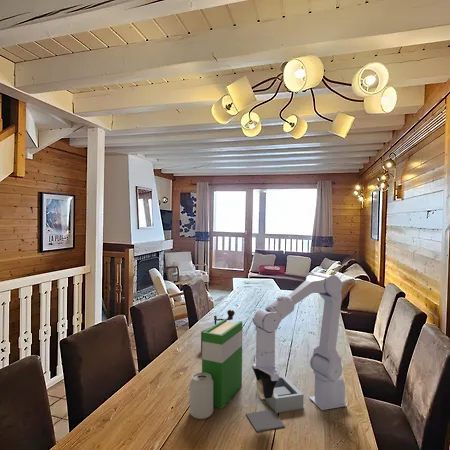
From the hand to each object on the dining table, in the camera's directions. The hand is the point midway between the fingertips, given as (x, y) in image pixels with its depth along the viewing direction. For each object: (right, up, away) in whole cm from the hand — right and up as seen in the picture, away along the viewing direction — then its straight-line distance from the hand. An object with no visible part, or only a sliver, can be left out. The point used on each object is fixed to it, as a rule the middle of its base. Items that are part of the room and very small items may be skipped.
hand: (265, 393), depth 101 cm
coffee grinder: (-15, -8, +59) cm, 62 cm away
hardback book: (-13, -8, +16) cm, 22 cm away
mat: (0, -8, 0) cm, 8 cm away
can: (-20, -8, +4) cm, 22 cm away
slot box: (+7, -8, +12) cm, 16 cm away
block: (0, 0, 0) cm, 0 cm away
